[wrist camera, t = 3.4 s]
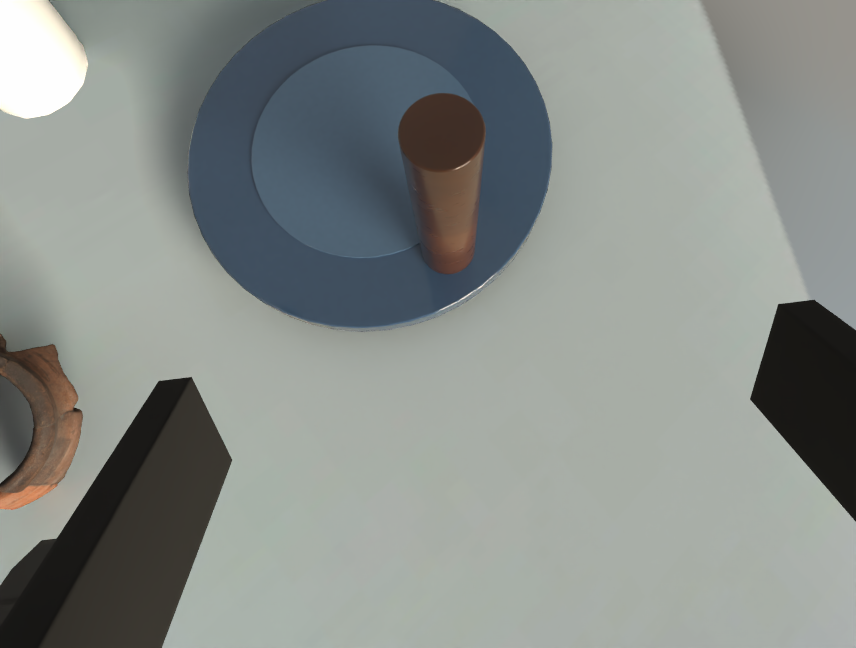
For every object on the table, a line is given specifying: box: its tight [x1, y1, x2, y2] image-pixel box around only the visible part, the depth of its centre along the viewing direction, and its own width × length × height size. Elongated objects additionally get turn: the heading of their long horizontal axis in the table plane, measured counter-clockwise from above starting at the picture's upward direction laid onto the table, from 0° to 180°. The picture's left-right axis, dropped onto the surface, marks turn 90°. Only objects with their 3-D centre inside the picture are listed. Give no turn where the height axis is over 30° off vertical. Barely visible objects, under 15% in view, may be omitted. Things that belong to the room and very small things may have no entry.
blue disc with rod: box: [187, 0, 552, 332], centre depth 22 cm, size 19×19×11 cm
